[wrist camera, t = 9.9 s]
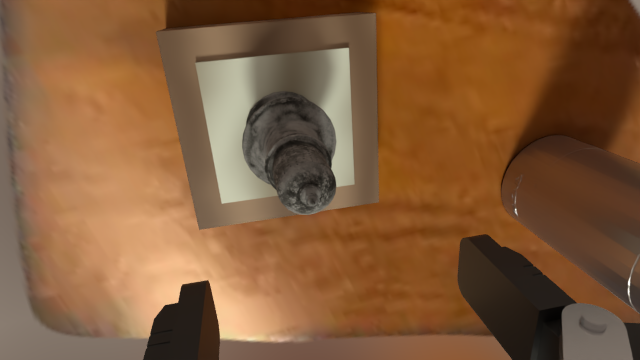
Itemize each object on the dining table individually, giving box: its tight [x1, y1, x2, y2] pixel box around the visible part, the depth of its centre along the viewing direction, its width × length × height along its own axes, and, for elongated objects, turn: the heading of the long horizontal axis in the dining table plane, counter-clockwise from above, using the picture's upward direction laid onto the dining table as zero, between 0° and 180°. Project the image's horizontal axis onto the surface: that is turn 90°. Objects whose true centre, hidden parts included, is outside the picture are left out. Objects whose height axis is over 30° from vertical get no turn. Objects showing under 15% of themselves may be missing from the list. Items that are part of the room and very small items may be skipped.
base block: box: [156, 12, 379, 230], centre depth 31 cm, size 14×14×4 cm
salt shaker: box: [242, 91, 336, 215], centre depth 23 cm, size 6×6×12 cm
